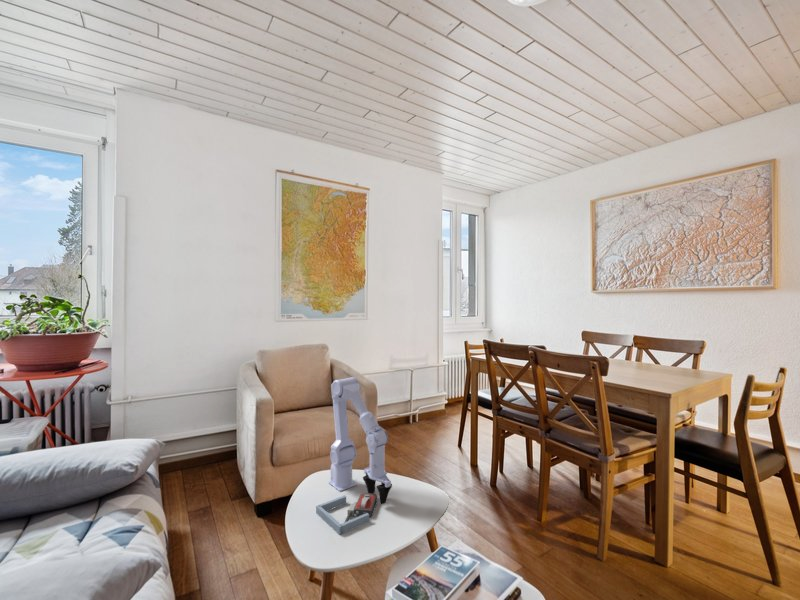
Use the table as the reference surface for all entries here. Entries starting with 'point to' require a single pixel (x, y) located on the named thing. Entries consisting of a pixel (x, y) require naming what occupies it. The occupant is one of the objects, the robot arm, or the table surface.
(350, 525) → the grey pronged cradle
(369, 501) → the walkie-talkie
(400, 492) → the table surface
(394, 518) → the table surface
